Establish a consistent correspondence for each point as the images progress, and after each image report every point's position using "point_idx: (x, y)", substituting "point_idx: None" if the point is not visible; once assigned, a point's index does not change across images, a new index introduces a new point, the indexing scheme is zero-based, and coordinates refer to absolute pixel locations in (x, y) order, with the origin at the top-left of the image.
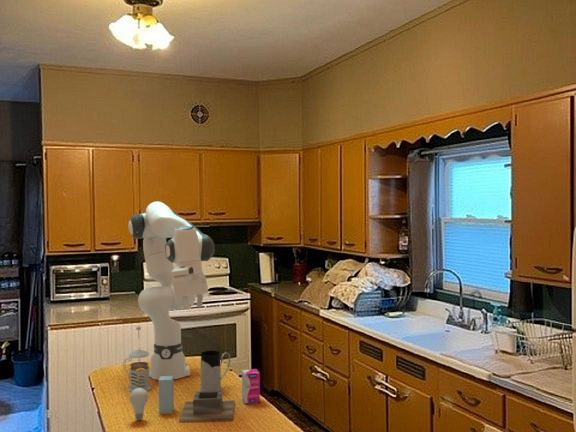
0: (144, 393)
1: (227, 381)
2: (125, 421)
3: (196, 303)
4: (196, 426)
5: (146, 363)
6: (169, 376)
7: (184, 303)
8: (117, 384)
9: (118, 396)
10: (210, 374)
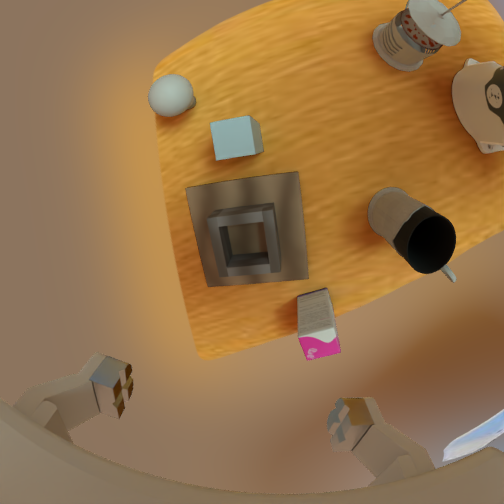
0: (158, 111)
1: None
2: None
3: (348, 420)
4: (173, 226)
5: (437, 46)
6: (248, 143)
7: (63, 383)
8: None
9: (337, 13)
10: (385, 230)
